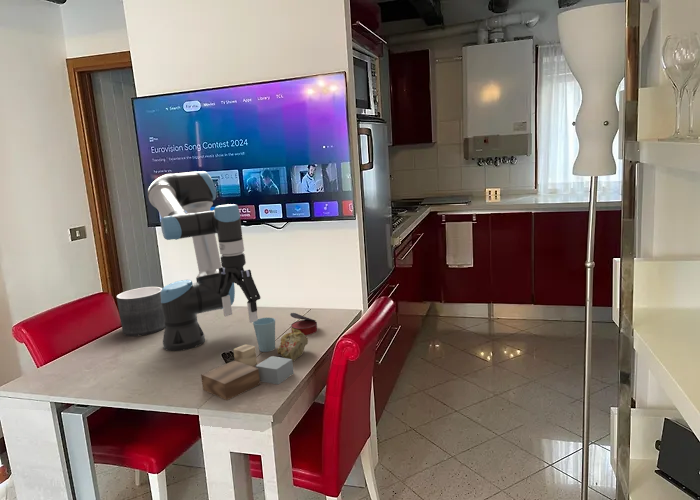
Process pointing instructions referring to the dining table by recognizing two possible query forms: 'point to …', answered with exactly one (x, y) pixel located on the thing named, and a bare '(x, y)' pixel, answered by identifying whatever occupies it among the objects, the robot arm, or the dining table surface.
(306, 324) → the canned food
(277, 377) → the slate block
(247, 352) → the oak block
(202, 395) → the dining table surface
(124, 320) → the planter
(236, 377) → the walnut pedestal
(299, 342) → the rock
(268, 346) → the cup
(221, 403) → the dining table surface
